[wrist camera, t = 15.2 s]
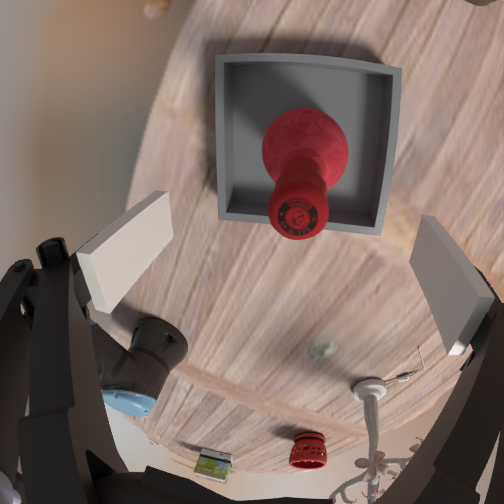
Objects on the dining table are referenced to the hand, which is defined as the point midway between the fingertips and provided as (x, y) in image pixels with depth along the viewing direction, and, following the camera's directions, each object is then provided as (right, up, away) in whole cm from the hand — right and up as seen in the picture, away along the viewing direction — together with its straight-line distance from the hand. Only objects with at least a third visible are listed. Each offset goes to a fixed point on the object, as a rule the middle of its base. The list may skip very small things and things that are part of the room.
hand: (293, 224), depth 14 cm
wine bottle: (+6, +15, +26) cm, 31 cm away
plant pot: (+19, -68, +73) cm, 102 cm away
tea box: (-18, -99, +100) cm, 142 cm away
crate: (+6, +16, +27) cm, 32 cm away
